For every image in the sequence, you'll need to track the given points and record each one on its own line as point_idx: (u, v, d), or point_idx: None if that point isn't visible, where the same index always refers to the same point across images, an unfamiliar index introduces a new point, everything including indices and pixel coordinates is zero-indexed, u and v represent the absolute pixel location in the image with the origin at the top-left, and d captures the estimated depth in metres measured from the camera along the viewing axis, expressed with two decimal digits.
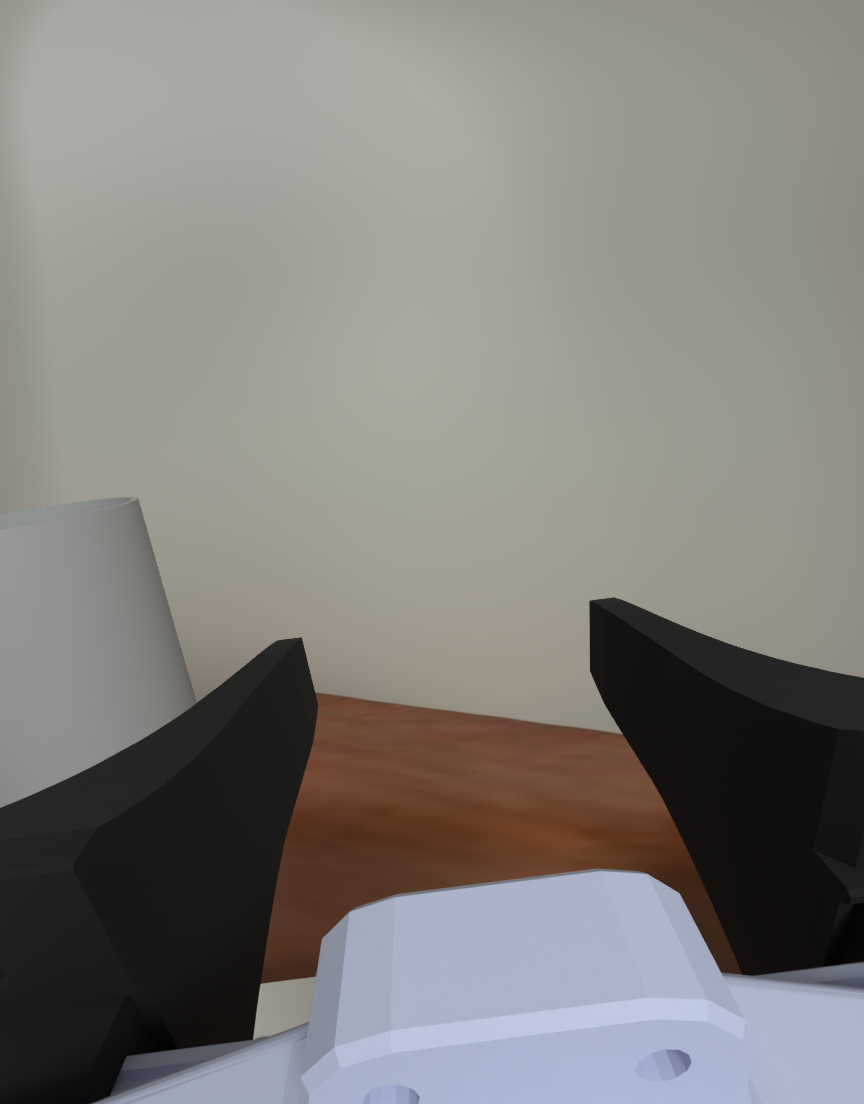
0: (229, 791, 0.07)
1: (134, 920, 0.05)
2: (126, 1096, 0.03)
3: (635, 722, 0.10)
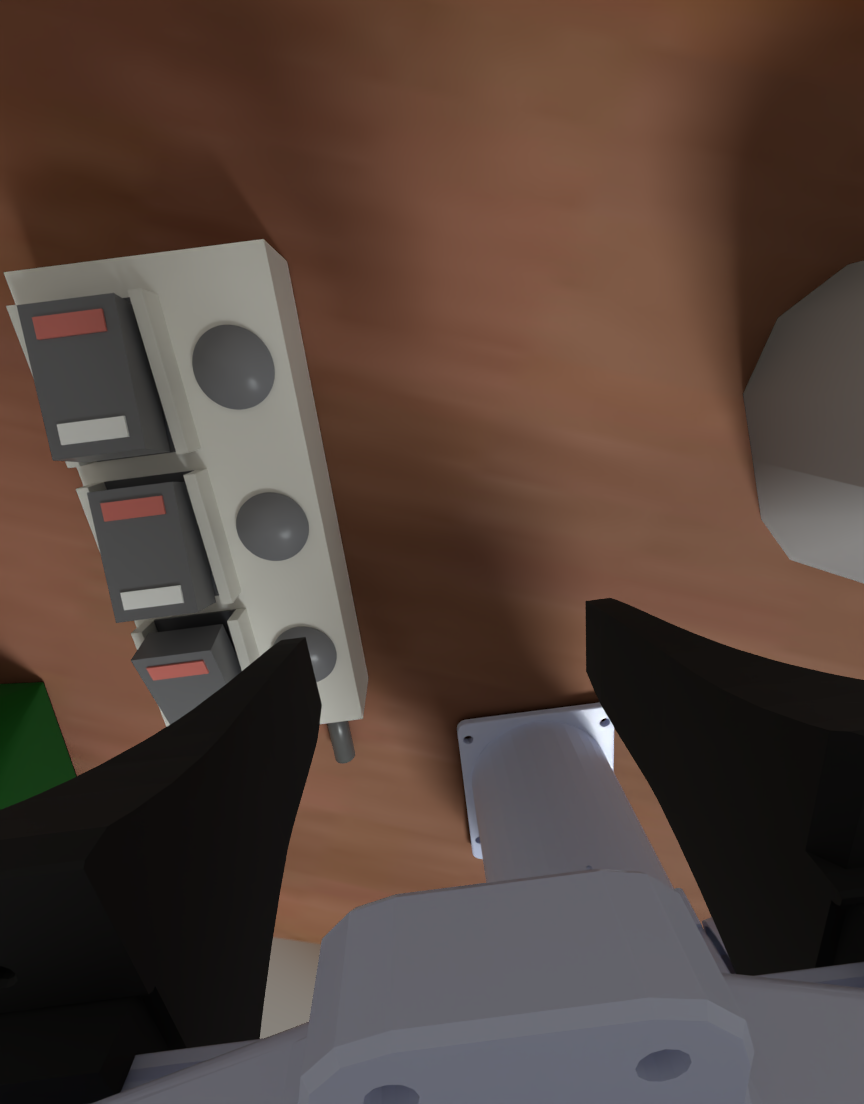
0: (235, 790, 0.07)
1: (143, 919, 0.05)
2: (126, 1096, 0.03)
3: (631, 723, 0.10)
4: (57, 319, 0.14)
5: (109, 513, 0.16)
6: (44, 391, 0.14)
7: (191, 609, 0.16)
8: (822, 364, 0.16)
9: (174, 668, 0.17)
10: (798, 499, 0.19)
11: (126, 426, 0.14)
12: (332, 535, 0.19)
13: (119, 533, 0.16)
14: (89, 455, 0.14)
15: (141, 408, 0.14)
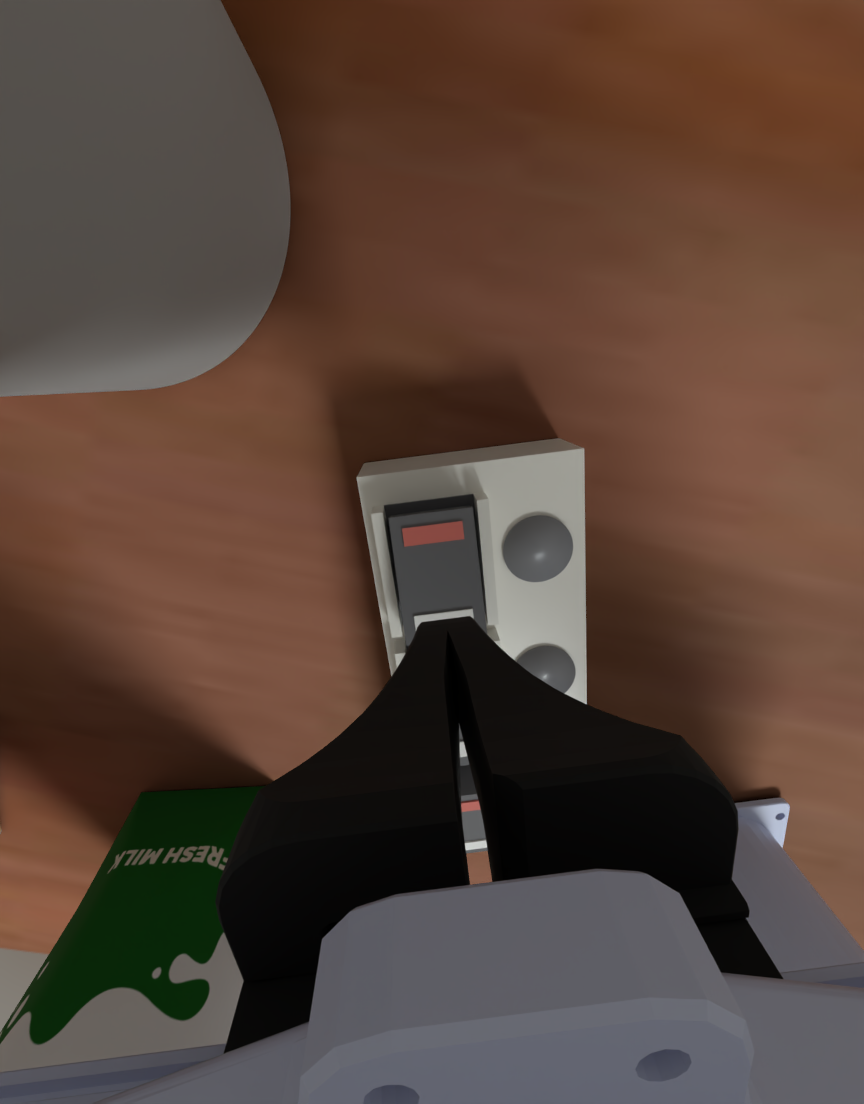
0: (453, 762, 0.07)
1: None
2: (126, 1096, 0.03)
3: (468, 744, 0.10)
4: (421, 529, 0.16)
5: None
6: (405, 588, 0.16)
7: None
8: None
9: (465, 805, 0.19)
10: None
11: (473, 616, 0.16)
12: None
13: None
14: None
15: (482, 600, 0.17)
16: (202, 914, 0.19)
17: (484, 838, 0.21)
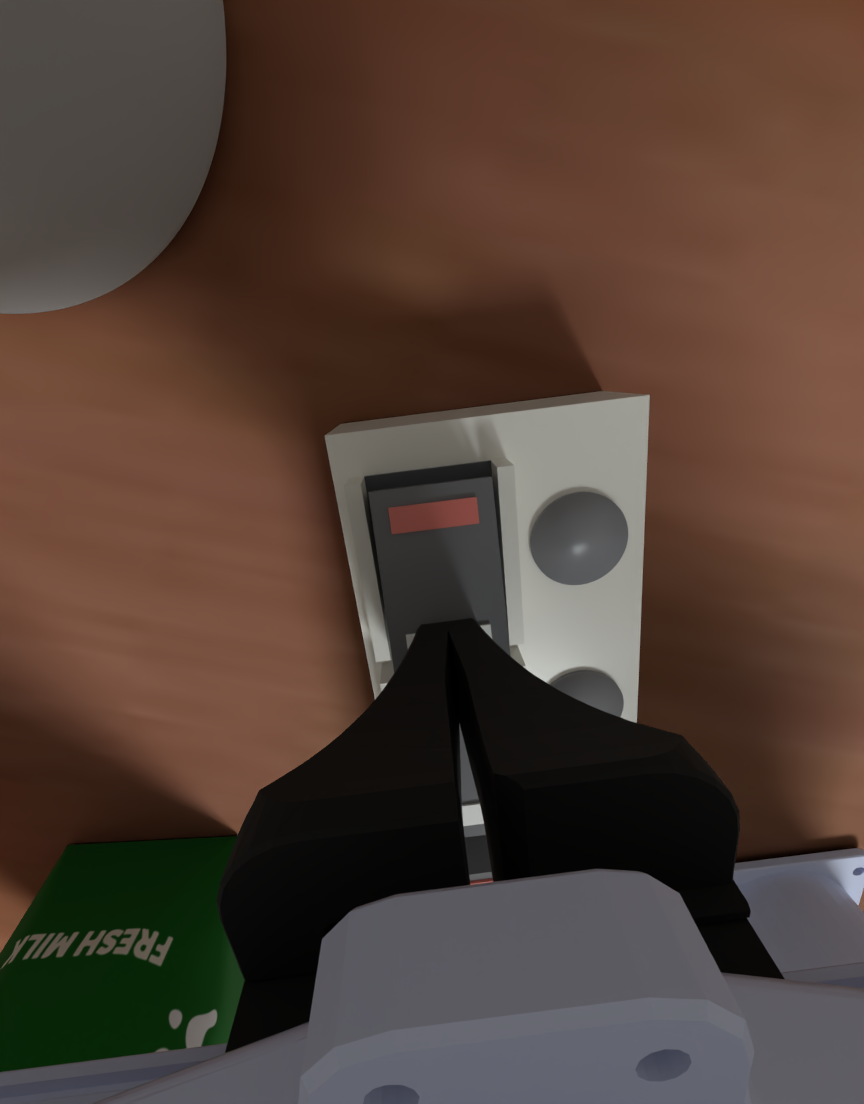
0: (454, 762, 0.07)
1: None
2: (126, 1096, 0.03)
3: (468, 743, 0.10)
4: (417, 508, 0.11)
5: None
6: (393, 595, 0.11)
7: None
8: None
9: None
10: None
11: (491, 635, 0.11)
12: None
13: None
14: None
15: (504, 611, 0.12)
16: (118, 1035, 0.14)
17: None
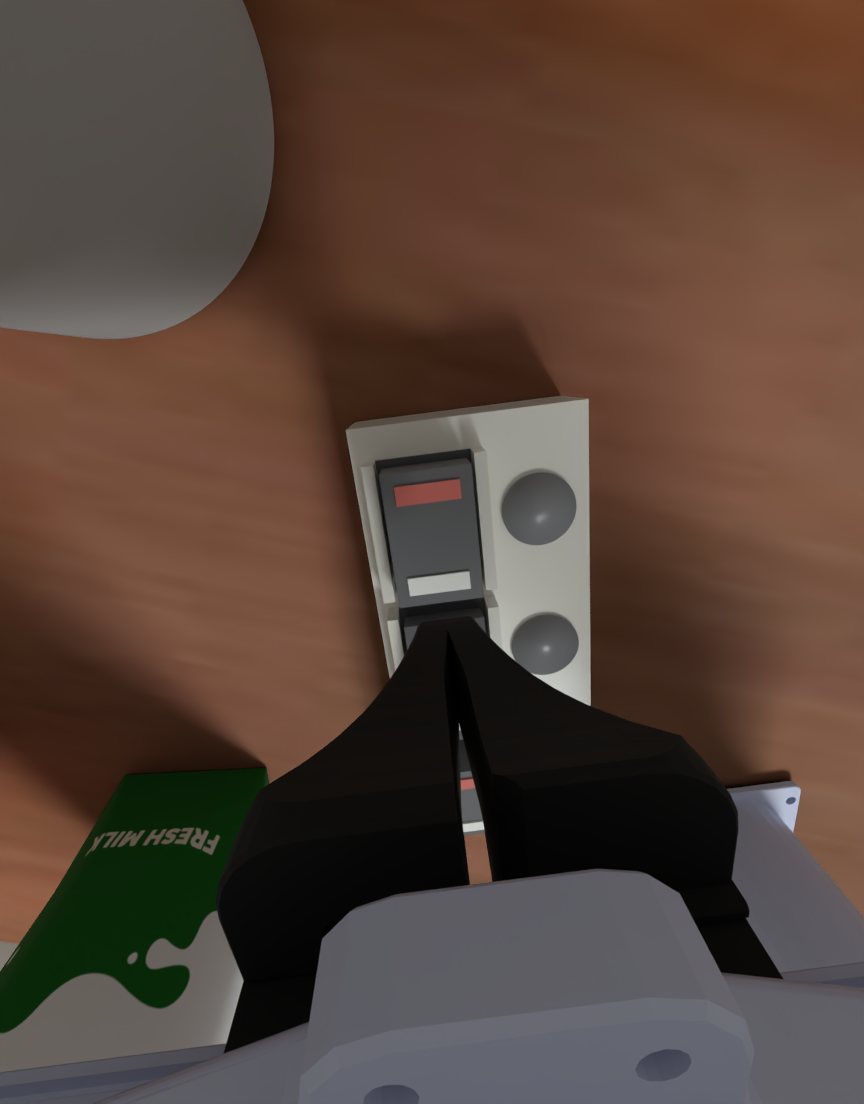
0: (453, 762, 0.07)
1: (466, 877, 0.05)
2: (126, 1096, 0.03)
3: (468, 743, 0.10)
4: (415, 487, 0.15)
5: None
6: (398, 551, 0.15)
7: None
8: None
9: (462, 782, 0.18)
10: None
11: (469, 578, 0.16)
12: None
13: None
14: (431, 602, 0.16)
15: (480, 561, 0.16)
16: (183, 897, 0.18)
17: (482, 819, 0.20)
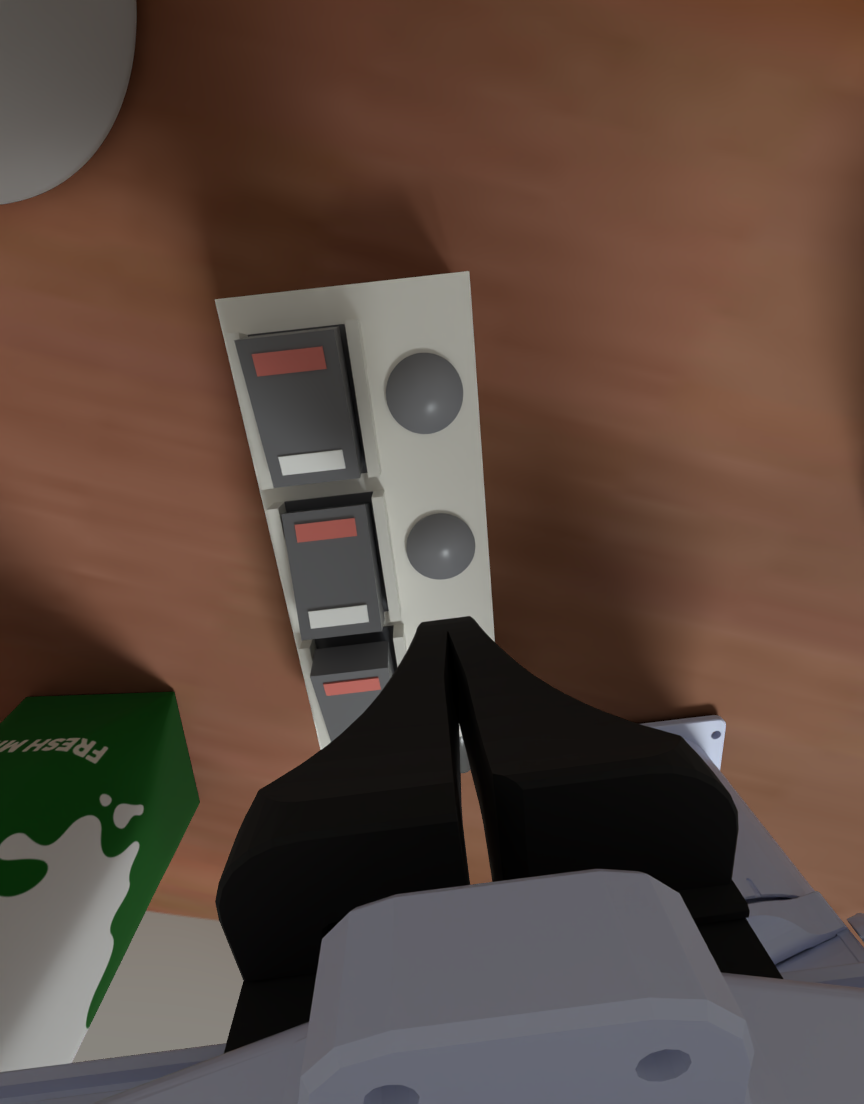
0: (453, 762, 0.07)
1: None
2: (126, 1096, 0.03)
3: (468, 744, 0.10)
4: (275, 355, 0.14)
5: (302, 534, 0.16)
6: (265, 426, 0.15)
7: (375, 628, 0.17)
8: None
9: (349, 684, 0.17)
10: None
11: (343, 458, 0.15)
12: None
13: (310, 554, 0.16)
14: (307, 483, 0.16)
15: (354, 440, 0.15)
16: (54, 798, 0.17)
17: None
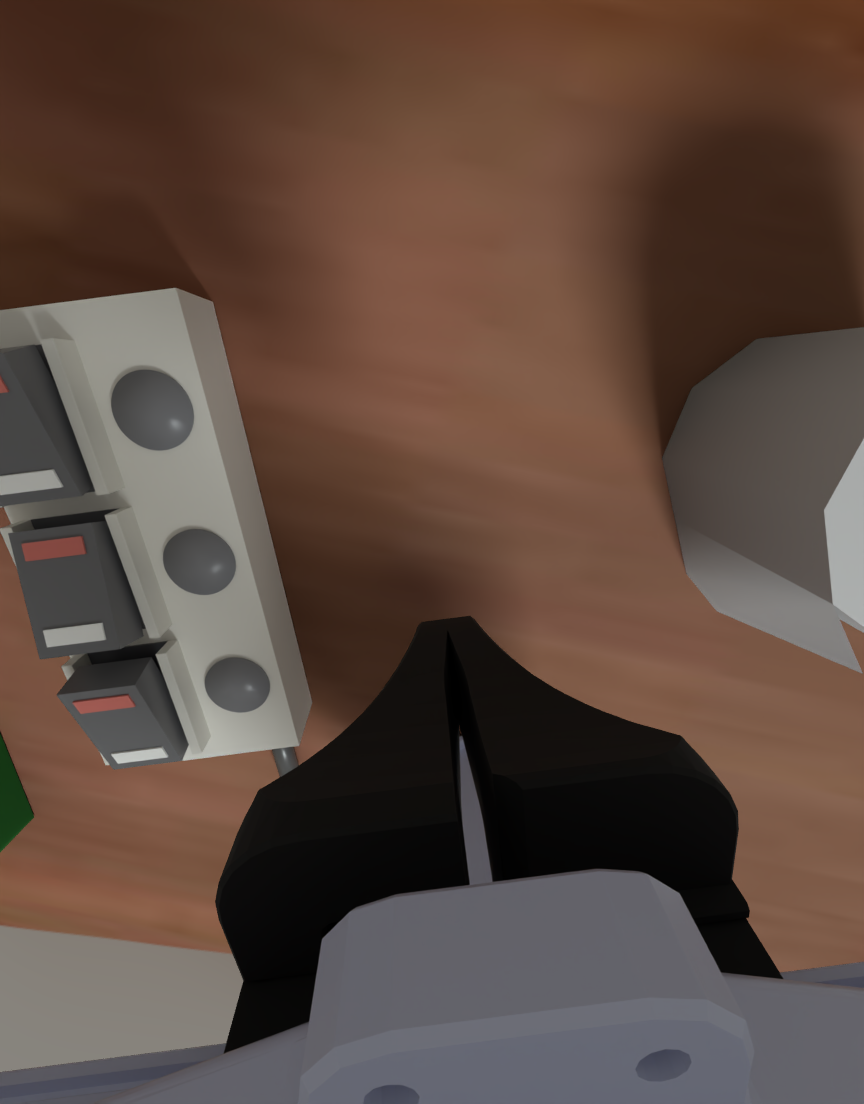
0: (453, 762, 0.07)
1: (466, 877, 0.05)
2: (126, 1096, 0.03)
3: (468, 743, 0.10)
4: None
5: (30, 553, 0.16)
6: None
7: (113, 646, 0.17)
8: (721, 442, 0.17)
9: (100, 702, 0.17)
10: (711, 562, 0.20)
11: (58, 477, 0.15)
12: (264, 567, 0.20)
13: (41, 572, 0.16)
14: (30, 501, 0.16)
15: (66, 459, 0.15)
16: None
17: (150, 747, 0.19)
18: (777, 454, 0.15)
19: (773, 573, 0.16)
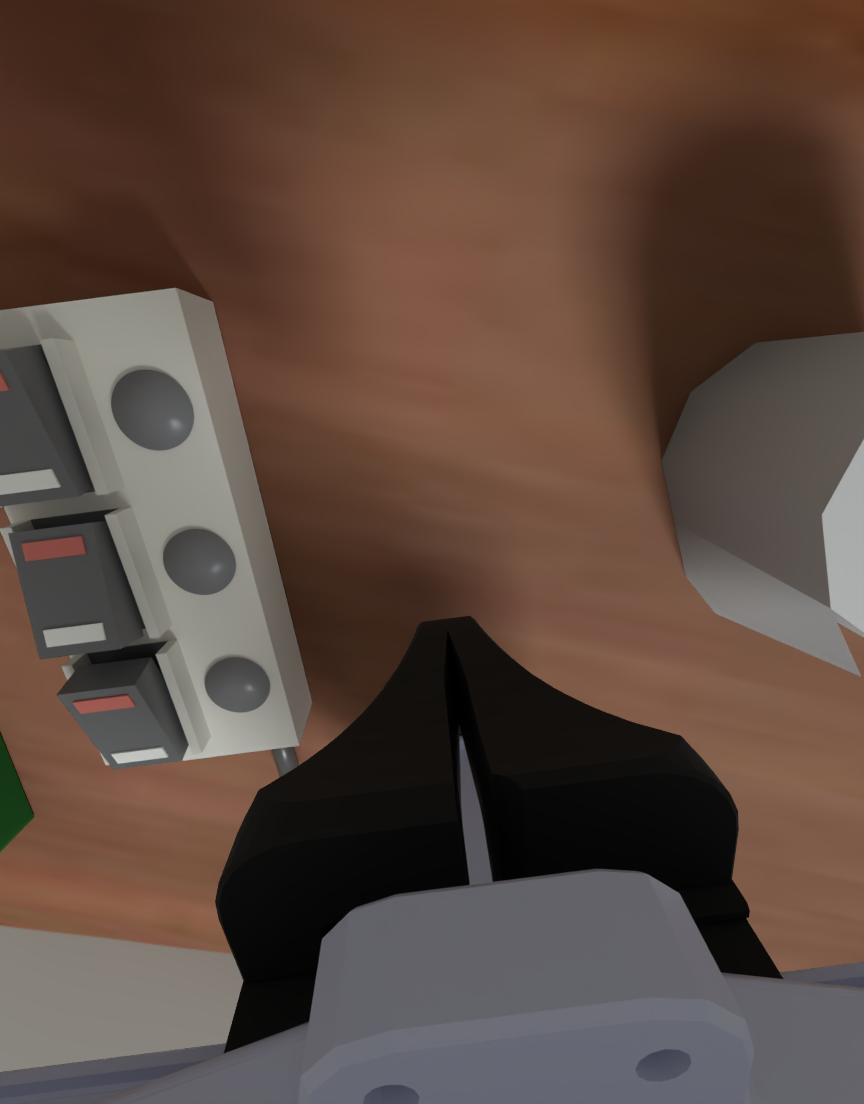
0: (453, 762, 0.07)
1: (466, 877, 0.05)
2: (126, 1096, 0.03)
3: (468, 743, 0.10)
4: None
5: (30, 553, 0.16)
6: None
7: (113, 646, 0.17)
8: (719, 446, 0.17)
9: (100, 702, 0.17)
10: (710, 565, 0.20)
11: (56, 477, 0.15)
12: (264, 567, 0.20)
13: (41, 572, 0.16)
14: (27, 502, 0.16)
15: (64, 459, 0.15)
16: None
17: (150, 747, 0.19)
18: (775, 459, 0.15)
19: (771, 576, 0.16)
